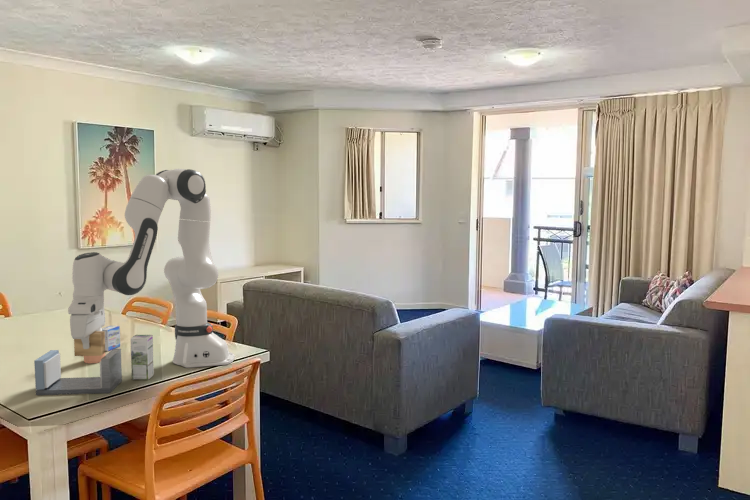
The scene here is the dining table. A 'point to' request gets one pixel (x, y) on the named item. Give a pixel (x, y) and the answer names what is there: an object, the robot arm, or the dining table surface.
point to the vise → (90, 379)
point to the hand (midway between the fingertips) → (89, 346)
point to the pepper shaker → (93, 358)
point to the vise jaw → (47, 369)
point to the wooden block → (91, 345)
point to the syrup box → (142, 357)
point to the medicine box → (112, 337)
